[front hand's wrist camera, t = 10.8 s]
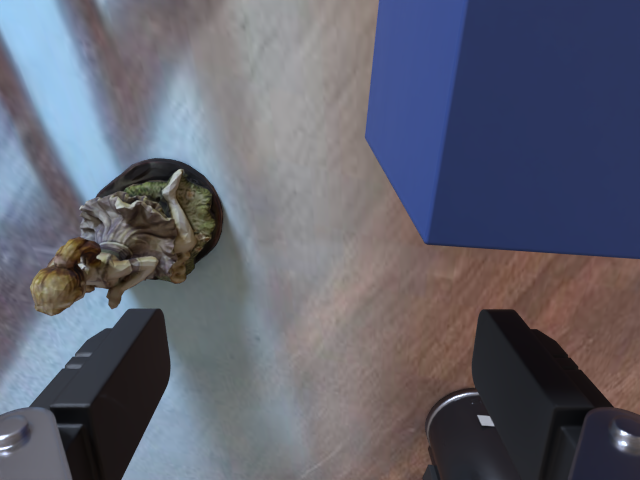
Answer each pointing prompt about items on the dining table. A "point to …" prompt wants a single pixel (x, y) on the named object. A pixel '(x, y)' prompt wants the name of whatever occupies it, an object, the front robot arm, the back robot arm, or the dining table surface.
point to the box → (511, 122)
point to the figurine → (134, 235)
